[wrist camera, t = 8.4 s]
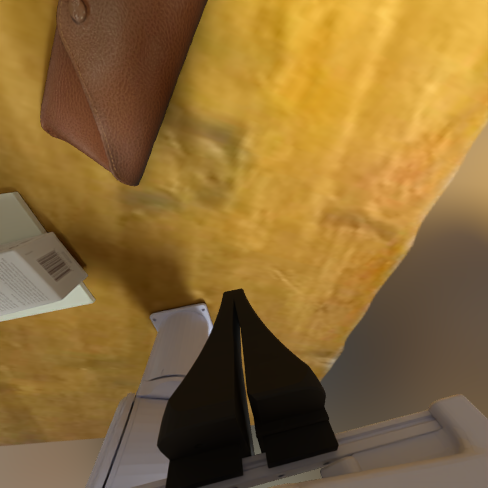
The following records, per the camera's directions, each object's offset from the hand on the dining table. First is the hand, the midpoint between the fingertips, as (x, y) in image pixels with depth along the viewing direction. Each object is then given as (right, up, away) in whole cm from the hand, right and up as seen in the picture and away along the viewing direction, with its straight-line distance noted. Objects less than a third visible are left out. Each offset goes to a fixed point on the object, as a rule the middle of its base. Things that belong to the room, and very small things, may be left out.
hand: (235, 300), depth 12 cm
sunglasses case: (-9, +19, +2) cm, 21 cm away
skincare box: (-18, +2, +5) cm, 19 cm away
